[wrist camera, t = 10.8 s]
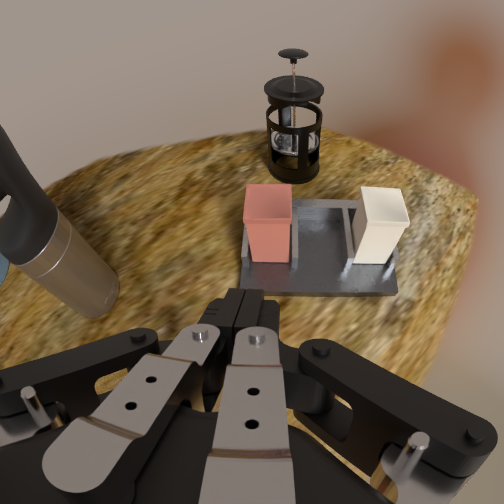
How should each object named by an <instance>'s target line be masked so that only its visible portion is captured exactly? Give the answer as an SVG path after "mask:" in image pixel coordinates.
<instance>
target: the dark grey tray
mask: <svg viewBox="0 0 504 504" xmlns="http://www.w3.org/2000/svg"><path fill="white" fill-rule="evenodd" d="M358 202H359V200H335V199H292V224H290V240H289V262H253V260H252V255H251V249H250V244H249V239H248V233H247V228H246V224H244V234H243V243H242V253H241V258H242V269H241V279H240V289H246V290H247V289H264V296H309V297H362V296H395V295H396V294H397V293H398V287H397V280H396V274H395V265H396V264H397V262H398V261H399V259H400V258H399V253H398V248H397V244H396V246H395V248H394V249H393V251H392V253H391V255H390V256H389V258H388V260H387V262H386V263H385V264H362V263H353V260H354V253H353V244H352V236H351V226H352V223H353V219H354V216H355V212H356V209H357V205H358Z"/></svg>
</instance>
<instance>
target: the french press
mask: <svg viewBox="0 0 504 504" xmlns="http://www.w3.org/2000/svg"><path fill="white" fill-rule="evenodd" d="M278 55H279V56H281V57H283V58H289V59H290V63H291V64H292V65H293V75H291V76H281V77H277V78H274V79H272V80H270V81H268V82H267V83H266V84H265V86H264V91H265V93H266V94H267V95H268V102H269V103H270V104H271V106H270V107H269V108H268V109H267V111H266V119H267V133H268V147H269V171H270V173H271V174H272V176H273V177H274V178H276V179H277V180H279V181H281V182H284V183H287V184H303V183H306V182H309V181H311V180H312V179H314V178H315V177H316V176H317V174H318V172H319V145H320V132H321V125H322V112H321V110H320V109H319V108H318V107H317V106H316V105H314V104H312V103H309V101H311V102H314V103H317V104H319V103H320V100H321V96H322V95H323V93H324V87H323V86H322V84H321V83H319V82H318V81H316V80H314V79H311V78H308V77H304V76H295V64H296V63H297V59H300V58H305V57H307V56H308V52H306V51H304V50H300V49H284V50H282V51H280V52H279V53H278ZM291 106H293V126H291ZM295 106H297V107H304V108H307V109H310V110H312V111H314V112H315V113H316V123H315V124H313V125H311V126H307V127H299V126H295ZM277 109H278V116H279V125H278V124H276V123H274V122H272V121H271V120H270V119H269V118H268V117H269V115H270V114H271V113H272V112H273V111H275V110H277ZM271 128H272V129H273V130H275V132H273V133H272V135H271ZM314 131H315V133H314ZM284 155H285V156H289V157H298V167H297V169H287V168H284V167H281V166H279V165H277V164H276V162H277V160H278V159H279V158H280V157H282V156H284ZM308 159H309V160H310V161H311V162H312V165H311V166H309V167H307V166H308Z"/></svg>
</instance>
